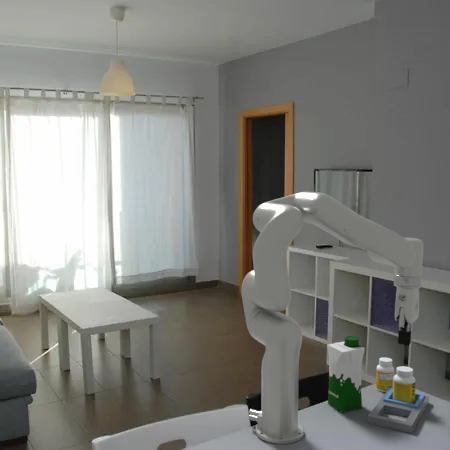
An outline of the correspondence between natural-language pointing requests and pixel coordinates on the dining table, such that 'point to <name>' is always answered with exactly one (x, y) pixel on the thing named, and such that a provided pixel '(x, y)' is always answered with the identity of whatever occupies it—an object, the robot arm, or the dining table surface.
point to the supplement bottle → (384, 374)
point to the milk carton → (345, 374)
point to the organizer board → (398, 412)
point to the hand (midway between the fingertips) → (404, 343)
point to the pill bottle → (404, 385)
